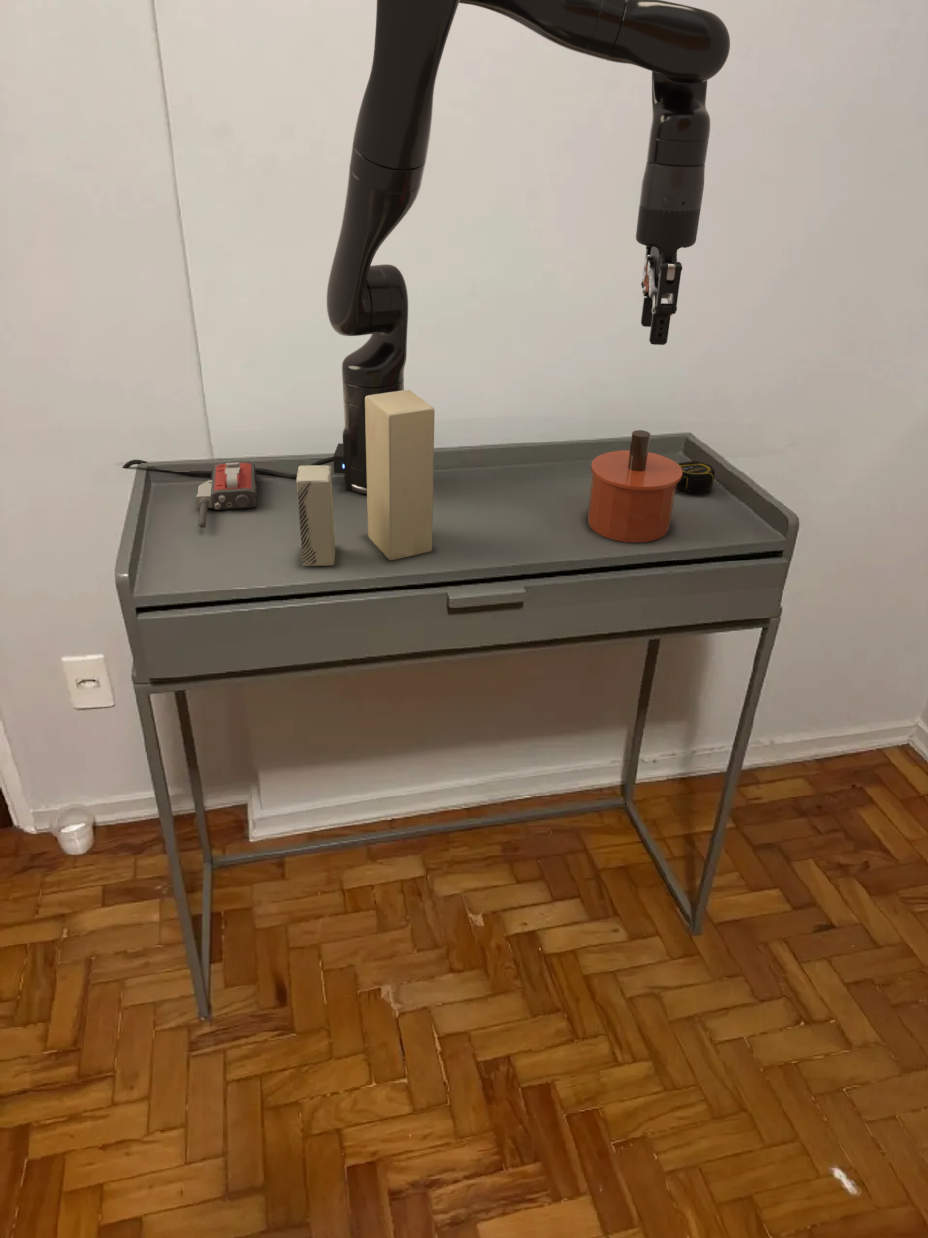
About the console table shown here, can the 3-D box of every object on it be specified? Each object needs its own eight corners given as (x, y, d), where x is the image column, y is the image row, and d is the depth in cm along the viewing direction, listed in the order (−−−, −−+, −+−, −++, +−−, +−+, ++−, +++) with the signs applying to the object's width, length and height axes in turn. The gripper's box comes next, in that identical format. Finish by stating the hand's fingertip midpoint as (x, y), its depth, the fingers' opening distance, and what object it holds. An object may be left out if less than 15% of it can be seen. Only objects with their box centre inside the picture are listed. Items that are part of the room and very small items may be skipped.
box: (304, 549, 130) (297, 463, 123) (336, 548, 130) (331, 463, 123) (302, 568, 126) (295, 480, 119) (335, 567, 126) (329, 480, 119)
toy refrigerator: (438, 550, 131) (439, 406, 119) (390, 561, 128) (387, 415, 116) (413, 527, 136) (413, 387, 125) (367, 537, 134) (362, 395, 122)
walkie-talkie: (201, 477, 149) (195, 535, 133) (198, 451, 147) (191, 507, 130) (257, 474, 151) (258, 531, 134) (254, 449, 148) (255, 503, 132)
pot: (591, 541, 134) (597, 486, 130) (585, 504, 144) (590, 453, 140) (674, 544, 134) (683, 489, 129) (662, 507, 144) (670, 456, 139)
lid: (594, 492, 129) (599, 449, 126) (587, 456, 140) (591, 415, 137) (688, 496, 129) (695, 452, 126) (674, 459, 140) (680, 418, 137)
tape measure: (695, 477, 154) (699, 455, 152) (720, 493, 149) (724, 471, 147) (660, 483, 152) (663, 461, 150) (685, 500, 146) (688, 478, 144)
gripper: (711, 213, 109) (690, 351, 118) (690, 194, 121) (673, 321, 130) (647, 211, 109) (631, 349, 118) (633, 193, 121) (619, 319, 130)
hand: (653, 334), depth 124 cm, fingers open, 8 cm apart
